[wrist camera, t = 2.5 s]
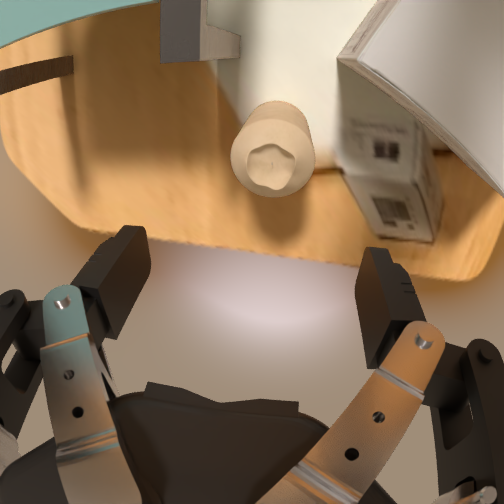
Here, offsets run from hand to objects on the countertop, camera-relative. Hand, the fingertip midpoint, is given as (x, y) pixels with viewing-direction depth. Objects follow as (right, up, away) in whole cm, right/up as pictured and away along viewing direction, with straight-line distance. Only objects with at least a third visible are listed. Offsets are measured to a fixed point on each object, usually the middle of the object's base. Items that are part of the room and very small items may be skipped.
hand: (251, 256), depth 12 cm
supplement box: (+18, +17, +10) cm, 26 cm away
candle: (+2, +11, +16) cm, 20 cm away
